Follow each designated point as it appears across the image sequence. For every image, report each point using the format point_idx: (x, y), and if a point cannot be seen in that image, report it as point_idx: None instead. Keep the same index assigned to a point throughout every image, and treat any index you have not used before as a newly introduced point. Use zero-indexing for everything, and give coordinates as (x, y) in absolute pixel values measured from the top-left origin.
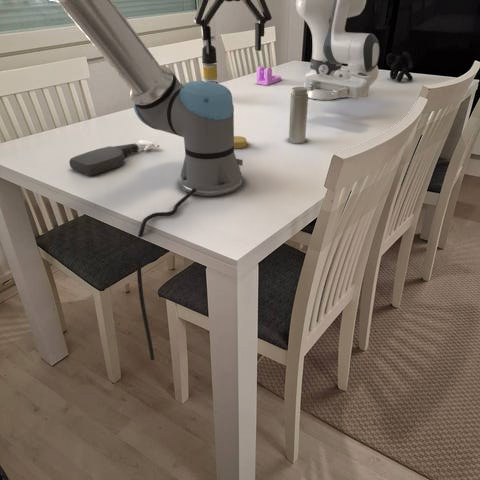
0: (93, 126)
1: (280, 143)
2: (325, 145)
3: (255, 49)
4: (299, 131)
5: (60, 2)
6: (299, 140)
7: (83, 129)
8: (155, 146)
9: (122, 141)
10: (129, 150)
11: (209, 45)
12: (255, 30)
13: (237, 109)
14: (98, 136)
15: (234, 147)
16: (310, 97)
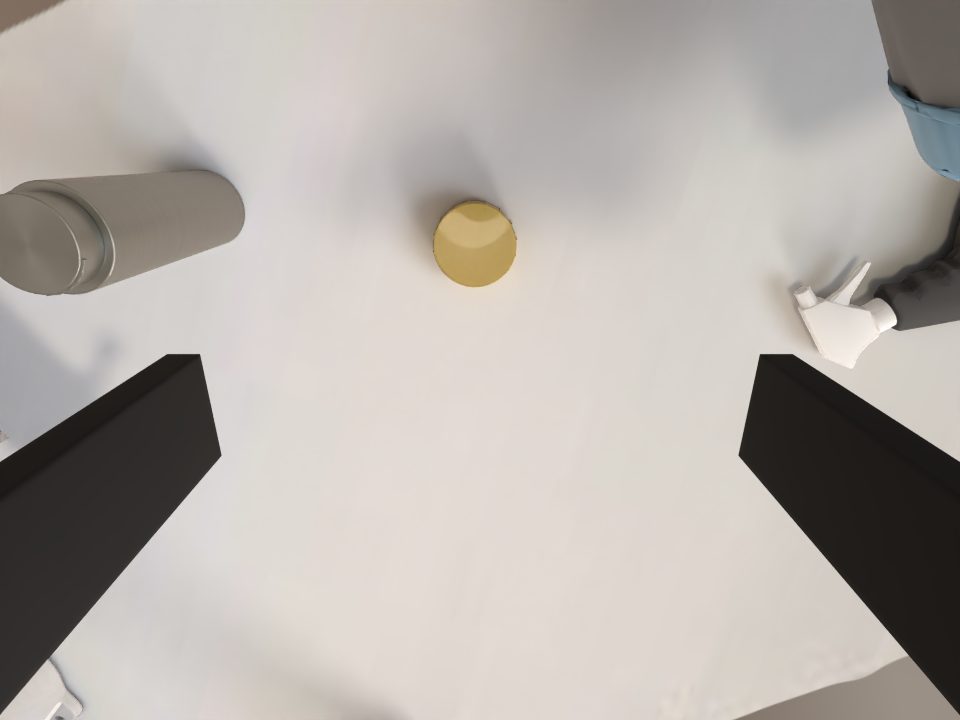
0: None
1: (288, 200)
2: (91, 103)
3: (219, 446)
4: (178, 173)
5: None
6: (198, 171)
7: None
8: (811, 291)
9: None
10: (928, 271)
11: (843, 392)
12: (84, 598)
13: (362, 625)
14: None
15: (496, 207)
16: (46, 661)
